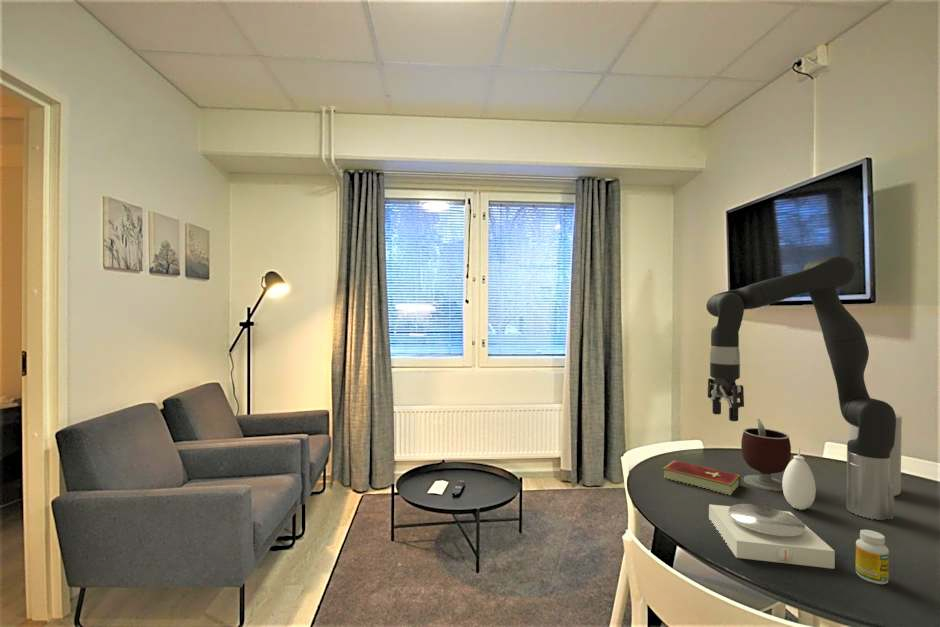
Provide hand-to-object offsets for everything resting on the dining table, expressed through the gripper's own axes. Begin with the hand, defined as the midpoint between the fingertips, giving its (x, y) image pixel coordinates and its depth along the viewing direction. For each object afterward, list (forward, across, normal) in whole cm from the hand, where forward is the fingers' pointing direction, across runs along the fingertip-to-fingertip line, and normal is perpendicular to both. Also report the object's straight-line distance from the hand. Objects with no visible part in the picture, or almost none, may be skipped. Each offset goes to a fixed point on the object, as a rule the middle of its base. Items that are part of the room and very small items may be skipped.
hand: (724, 417), depth 129 cm
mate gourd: (+28, +21, -26) cm, 43 cm away
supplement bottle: (+27, -32, -13) cm, 45 cm away
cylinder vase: (+28, +16, -58) cm, 67 cm away
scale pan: (+22, -18, 0) cm, 28 cm away
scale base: (+27, -18, 0) cm, 32 cm away
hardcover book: (+28, +21, -4) cm, 35 cm away
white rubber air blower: (+28, +1, -22) cm, 35 cm away
